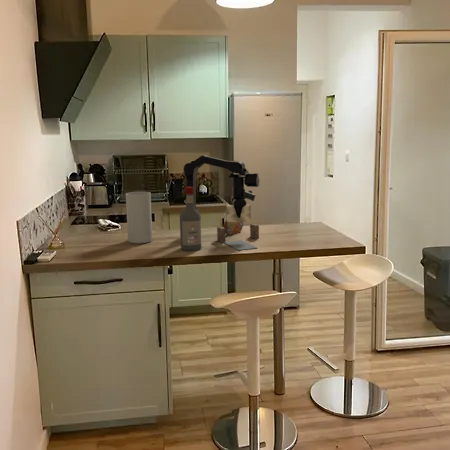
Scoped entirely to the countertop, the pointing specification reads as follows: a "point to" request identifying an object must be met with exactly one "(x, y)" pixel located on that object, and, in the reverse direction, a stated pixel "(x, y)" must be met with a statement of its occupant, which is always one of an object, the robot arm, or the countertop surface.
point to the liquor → (190, 225)
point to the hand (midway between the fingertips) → (238, 217)
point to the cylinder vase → (139, 217)
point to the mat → (240, 245)
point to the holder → (253, 232)
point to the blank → (233, 216)
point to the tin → (233, 227)
